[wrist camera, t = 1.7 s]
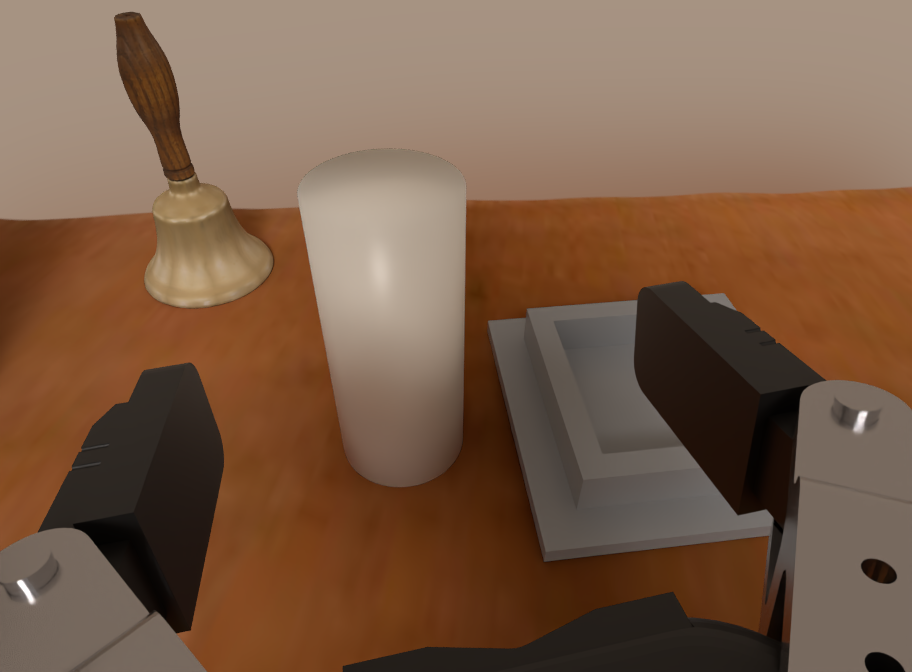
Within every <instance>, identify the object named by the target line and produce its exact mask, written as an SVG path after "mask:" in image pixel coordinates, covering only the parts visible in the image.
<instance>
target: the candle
mask: <svg viewBox="0 0 912 672" xmlns="http://www.w3.org/2000/svg"><path fill="white" fill-rule="evenodd" d="M297 197H298V202H299V207H300V213H301V218H302V224H303V229H304V235H305V240H306V246H307V251H308V256H309V262H310V267H311V273H312V278H313V284H314V289H315V294H316V300H317V305H318V311H319V316H320V322H321V327H322V332H323V338H324V343H325V349H326V354H327V360H328V365H329V370H330V376H331V381H332V387H333V392H334V398H335V403H336V409H337V414H338V419H339V425H340V430H341V436H342V441H343V447H344V451H345V455H346V457H347V460H348V462H349V463H350V465H351V466H352V467H353V468H354V470H355V471H356V472H358V473H359V474H360V475H361V476H363V477H364V478H366V479H368V480H370V481H372V482H374V483H377V484H380V485H384V486H390V487H409V486H415V485H419V484H423V483H426V482H428V481H431V480H433V479H435V478H436V477H438V476H440V475H441V474H443V473H444V472H445V471H446V470H447V469H449V468H450V467H451V465H452V464H453V463H454V462H455V460H456V459H457V457H458V455H459V453H460V451H461V447H462V443H463V398H464V323H465V247H466V181H465V178H464V176H463V175H462V173H461V172H460V170H458V169H457V168H456V167H455V166H454V165H453V164H451V163H450V162H448V161H446V160H444V159H442V158H440V157H437V156H434V155H431V154H428V153H424V152H419V151H413V150H405V149H372V150H364V151H358V152H353V153H348V154H345V155H341V156H338V157H335V158H332V159H330V160H328V161H325V162H323V163H322V164H320V165H318V166H316V167H315V168H314V169H312V170H311V171H309V172H308V173H307V174H306V175H305V176H304V178H303V179H302V180H301V182H300V184H299V186H298V190H297Z"/></svg>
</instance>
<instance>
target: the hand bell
mask: <svg viewBox="0 0 912 672" xmlns="http://www.w3.org/2000/svg"><path fill="white" fill-rule="evenodd" d="M114 20H115V25H116V36H117V45H116V47H117V61H118V67H119V72H120V76H121V78H122V81H123V84H124V87H125V90H126V92H127V94H128V96H129V99H130V101H131V103H132V104H133V106H134V108H135V110H136V112H137V113H138V115H139V116H140V118H141V119H142V121H143V122H144V123H145V125H146V126H147V128H148V129H149V131H150V132H151V134H152V136H153V138H154V141H155V144H156V147H157V150H158V154H159V157H160V160H161V164H162V167H163V171H164V175H165V176H166V177H167V180H168V184H169V188H170V189H169V190H167V191H165V192H164V193H162V194H161V195H160V196H158V197H157V198H156V200H155V202H154V204H153V208H152V209H153V216H154V220H155V225H156V232H157V250H156V254H155V255H154V257H153V258H152V259H151V261H150V262H149V264H148V266H147V269H146V272H145V278H144V282H145V287H146V289H147V291H148V292H149V293H150V295H151V296H152V297H154V298H155V299H156V300H158V301H160V302H162V303H164V304H168V305H171V306H175V307H180V308H205V307H211V306H216V305H220V304H224V303H227V302H231V301H234V300H236V299H239V298H241V297H243V296H245V295H247V294H249V293H250V292H252V291H253V290H255V289H256V288H257V287H258V286H260V285H261V284H262V283H263V282H264V281H265V280H266V278H267V277H268V276H269V274H270V273H271V270H272V267H273V256H272V253H271V251H270V250H269V248H268V247H267V246H266V245H265V244H264V243H263V242H262V241H261V240H260V239H258V238H257V237H255V236H253V235H251V234H248V233H247V232H246V231H245V230H244V229H243V228H242V226H241V225H240V223H239V222H238V220H237V218H236V217H235V215H234V213H233V211H232V208H231V206H230V203H229V201H228V198H227V196H226V194H225V193H224V192H223V191H222V190H221V189H219V188H218V187H216V186H213V185H210V184H205V183H204V184H203V183H199V180H198V178H197V175H196V173H195V172H194V167H193V165H192V163H191V160H190V157H189V154H188V151H187V149H186V146H185V143H184V140H183V138H182V134H181V130H180V123H179V122H180V121H179V118H180V110H179V97H178V93H177V87H176V83H175V79H174V76H173V73H172V70H171V67H170V64H169V62H168V60H167V57H166V56H165V54H164V52H163V50H162V49H161V47H160V46H159V44H158V42H157V41H156V40H155V38H154V37H153V35H152V34H151V32H150V31H149V29H148V27H147V26H146V24H145V22H144V20H143V18H142V16H141V14H140V13H135V12H126V13H121V14H118V15H116V16H115V17H114Z"/></svg>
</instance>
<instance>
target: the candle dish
mask: <svg viewBox="0 0 912 672" xmlns="http://www.w3.org/2000/svg"><path fill="white" fill-rule="evenodd" d="M702 296H703V297H704V298H706V299H707V300H708V301H709V302H710V303H712V302H717V303H719V304H721V305H724V306H726V307H729V308H731V309H733V310H736V309H735V308H734V306H733V305H732V304H731V302H730V301H729V299H728V298H727V297H726V295H725V294H724V293H722V294H709V295H702ZM736 311H737V310H736ZM636 314H637V300H632V301H619V302H607V303H594V304H581V305H568V306H555V307H542V308H530V309H527V312H526V318H518V319H505V320H493V321H488V329H487V332H488V336H489V340H490V344H491V348H492V352H493V356H494V360H495V364H496V368H497V372H498V376H499V380H500V384H501V389H502V393H503V397H504V401H505V405H506V409H507V413H508V417H509V421H510V425H511V429H512V433H513V437H514V441H515V445H516V450H517V454H518V458H519V462H520V466H521V470H522V474H523V478H524V482H525V486H526V490H527V494H528V498H529V502H530V507H531V511H532V515H533V519H534V523H535V527H536V531H537V535H538V539H539V543H540V547H541V551H542V555H543V559H544V562H545V561H554V560H563V559H571V558H580V557H588V556H597V555H606V554H614V553H623V552H631V551H640V550H649V549H657V548H666V547H674V546H683V545H692V544H700V543H709V542H717V541H726V540H735V539H743V538H752V537H760V536H769V533H770V529H771V525H772V520H773V517H772V515H771V514H770V513H769V512H768V511H767V510H762V511H757V512H753V513H748V514H743V515H739V516H738V515H737V514H736V513H735V512H734V510H733V509H732V508H731V506H730V505H729V504H728V502H727V501H726V500H725V499H724V497H723V496H722V495H721V493H720V492H719V491H718V489H717V488H716V487H715V486H714V484H713V483H712V482H711V480H710V479H709V478H708V477H707V475H706V474H705V473H704V471H703V470H702V469H701V467H700V466H699V465H698V464H697V462H696V461H695V460H694V458H693V457H692V456H691V454H690V453H689V452H688V451H687V449H686V448H685V447H684V445H683V444H682V443H681V441H680V440H679V439H678V438H677V436H676V435H675V434H674V432H673V431H672V430H671V428H670V427H669V426H668V425H667V423H666V422H665V421H664V419H663V418H662V417H661V416H660V414H659V413H658V412H657V410H656V409H655V408H654V406H653V405H652V404H651V403H650V401H649V400H648V399H647V397H646V396H645V395H644V393H643V392H642V390H641V389H640V387H639V384H638V382H637V379H636V375H635V370H634V347H635V330H636Z"/></svg>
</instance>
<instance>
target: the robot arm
mask: <svg viewBox="0 0 912 672" xmlns="http://www.w3.org/2000/svg"><path fill="white" fill-rule="evenodd" d="M634 370H635V375H636V379H637V382H638V384H639V387H640V389H641V390H642V392H643V393H644V395H645V396H646V397H647V399H648V400H649V401H650V403H651V404H652V405H653V406H654V408H655V409H656V410H657V412H658V413H659V414H660V416H661V417H662V418H663V419H664V421H665V422H666V423H667V425H668V426H669V427H670V428H671V430H672V431H673V432H674V434H675V435H676V436H677V438H678V439H679V440H680V441H681V443H682V444H683V445H684V447H685V448H686V449H687V451H688V452H689V453H690V454H691V456H692V457H693V458H694V460H695V461H696V462H697V464H698V465H699V466H700V467H701V469H702V470H703V471H704V473H705V474H706V475H707V477H708V478H709V479H710V480H711V482H712V483H713V484H714V486H715V487H716V488H717V489H718V491H719V492H720V493H721V495H722V496H723V497H724V499H725V500H726V501H727V502H728V504H729V505H730V506H731V508H732V509H733V510H734V512H735V513H736V514H737V515H738V516H739V515H743V514H748V513H753V512H757V511H762V510H767V511H768V512H769V513H770V514H771V515H772V517H773V520H772V525H771V529H770V533H769V542H768V551H767V560H766V569H765V578H764V588H763V597H762V606H761V615H760V623H759V630H758V632H755V631H752V630H749V629H746V628H743V627H740V626H737V625H733V624H729V623H725V622H721V621H716V620H708V619H701V618H688V617H687V616H686V614H685V612H684V610H683V609H682V607H681V605H680V603H679V602H678V600H677V598H676V596H675V595H674V593H673V592H670V593H665V594H661V595H656V596H652V597H647V598H643V599H639V600H634V601H630V602H625V603H621V604H616V605H612V606H608V607H603V608H599V609H595V610H593V611H591V612H589V613H587V614H585V615H583V616H581V617H579V618H578V619H576V620H574V621H572V622H570V623H568V624H566V625H564V626H562V627H560V628H558V629H556V630H554V631H552V632H550V633H549V634H547V635H545V636H543V637H541V638H539V639H537V640H535V641H533V642H531V643H529V644H527V645H525V646H523V647H519V648H513V649H499V648H449V647H425V648H421V649H417V650H412V651H408V652H403V653H399V654H394V655H390V656H386V657H381V658H377V659H372V660H368V661H363V662H359V663H354V664H350V665H346V666H343V672H912V410H911V409H910V408H909V407H908V406H907V405H906V403H904V402H903V401H902V400H900V399H899V398H897V397H896V396H894V395H893V394H891V393H889V392H887V391H884V390H882V389H880V388H877V387H874V386H871V385H867V384H864V383H859V382H853V381H844V380H831V381H826V380H825V379H824V378H822V377H821V376H820V375H819V374H817V373H816V372H815V371H814V370H812V369H811V368H810V367H809V366H807V365H806V364H805V363H804V362H802V361H801V360H800V359H799V358H797V357H796V356H795V355H794V354H792V353H791V352H790V351H789V350H787V349H786V348H785V347H784V346H782V345H781V344H780V343H777V344H776V342H775V339H774V338H772V337H771V336H770V335H769V334H767V333H766V332H765V331H761V330H760V327H759V326H757V325H756V324H755V323H754V322H752V321H751V320H750V319H749V318H747V317H746V316H745V315H744V314H742V313H741V312H738V311H736V310H733V309H731V308H729V307H726V306H724V305H721V304H719V303H717V302H712V303H710V302H709V301H708V300H707V299H706V298H704V297H703V296H702V295H701V294H700V293H698V292H697V291H696V290H695V289H694V288H693V287H691V286H690V285H689V284H688V283H686V282H684V281H680V282H674V283H668V284H662V285H656V286H650V287H644V288H642V289H641V291H640V292H639V295H638V300H637V314H636V330H635V347H634ZM81 449H82V452H79V453H78V455H77V457H76V459H75V461H74V463H73V465H72V471H69V472H68V474H67V476H66V478H65V480H64V482H63V484H62V486H61V488H60V490H59V492H58V494H57V496H56V498H55V500H54V502H53V504H52V506H51V507H50V509H49V511H48V513H47V515H46V517H45V519H44V521H43V523H42V525H41V527H40V529H39V531H38V533H36V534H33V535H30V536H28V537H26V538H23V539H21V540H19V541H17V542H15V543H13V544H12V545H10V546H8V547H7V548H5V549H4V550H2V551H1V552H0V672H207V671H206V670H205V669H204V668H203V666H202V665H201V664H200V663H199V661H198V660H197V659H196V658H195V657H194V655H193V654H192V653H191V652H190V650H189V649H188V648H187V647H186V645H185V644H184V643H183V642H182V640H181V639H180V638H179V637H178V636H177V634H176V633H180V632H185V631H190V630H191V626H192V621H193V616H194V611H195V606H196V601H197V596H198V591H199V586H200V582H201V577H202V572H203V567H204V562H205V557H206V552H207V547H208V542H209V537H210V532H211V527H212V523H213V518H214V513H215V508H216V503H217V498H218V493H219V488H220V483H221V478H222V473H223V468H224V453H223V445H222V440H221V436H220V433H219V430H218V427H217V424H216V421H215V419H214V416H213V413H212V410H211V407H210V404H209V402H208V399H207V396H206V393H205V390H204V388H203V385H202V382H201V379H200V376H199V374H198V372H197V369H196V368H195V366H194V365H193V364H192V363H184V364H178V365H172V366H166V367H161V368H155V369H149V370H144V371H143V372H142V374H141V376H140V378H139V380H138V382H137V384H136V387H135V389H134V391H133V393H132V395H131V398H130V400H129V402H126V403H121V404H115V405H114V406H113V407H112V408H111V409H110V410H109V411H108V412H107V413H106V414H105V415H104V416H102V417H101V418H100V419H99V420H98V421H97V422H96V423H95V424H94V425H93V426H92V428H91V430H90V432H89V434H88V436H87V438H86V439H85V441H84V443H83V445H82V447H81Z"/></svg>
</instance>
